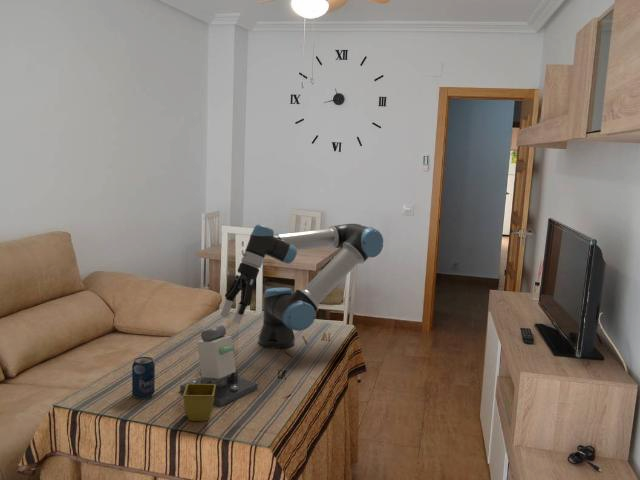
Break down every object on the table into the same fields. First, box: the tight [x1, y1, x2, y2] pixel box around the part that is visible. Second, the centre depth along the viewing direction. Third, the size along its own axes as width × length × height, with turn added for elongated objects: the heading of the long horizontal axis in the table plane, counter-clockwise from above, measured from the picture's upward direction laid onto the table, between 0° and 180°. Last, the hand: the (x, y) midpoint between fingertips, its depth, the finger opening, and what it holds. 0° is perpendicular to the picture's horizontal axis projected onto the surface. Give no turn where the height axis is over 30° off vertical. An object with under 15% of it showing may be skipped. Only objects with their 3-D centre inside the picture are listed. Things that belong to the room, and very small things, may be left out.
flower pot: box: [182, 384, 216, 422], centre depth 179 cm, size 9×9×9 cm
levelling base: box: [179, 368, 259, 408], centre depth 200 cm, size 18×18×6 cm
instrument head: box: [196, 325, 237, 384], centre depth 199 cm, size 10×10×18 cm
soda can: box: [131, 356, 156, 400], centre depth 192 cm, size 7×7×12 cm
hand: (229, 319), depth 219 cm, fingers open, 13 cm apart
